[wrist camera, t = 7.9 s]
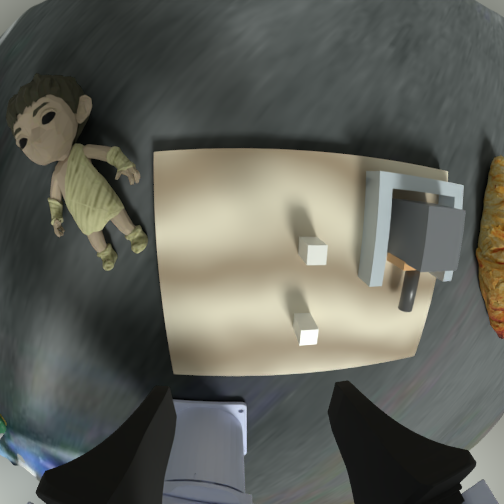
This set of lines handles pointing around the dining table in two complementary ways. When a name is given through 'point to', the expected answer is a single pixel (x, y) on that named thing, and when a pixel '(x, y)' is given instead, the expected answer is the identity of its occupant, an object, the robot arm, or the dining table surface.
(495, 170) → the croissant
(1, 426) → the beverage can
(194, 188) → the board
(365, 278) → the end holder
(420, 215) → the block
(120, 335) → the dining table surface
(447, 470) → the robot arm
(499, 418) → the dining table surface
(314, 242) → the twin white cubes
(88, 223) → the figurine
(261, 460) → the dining table surface
